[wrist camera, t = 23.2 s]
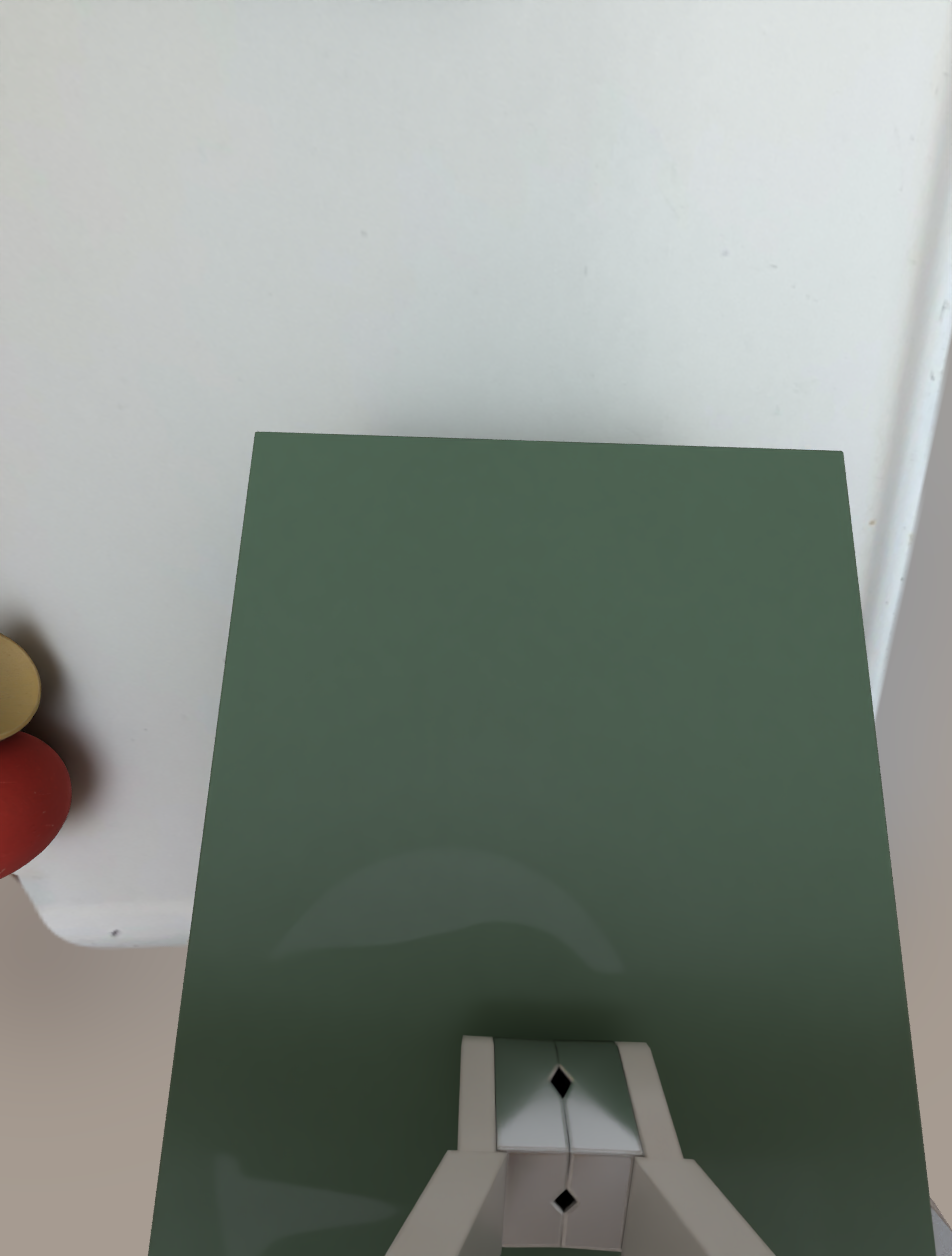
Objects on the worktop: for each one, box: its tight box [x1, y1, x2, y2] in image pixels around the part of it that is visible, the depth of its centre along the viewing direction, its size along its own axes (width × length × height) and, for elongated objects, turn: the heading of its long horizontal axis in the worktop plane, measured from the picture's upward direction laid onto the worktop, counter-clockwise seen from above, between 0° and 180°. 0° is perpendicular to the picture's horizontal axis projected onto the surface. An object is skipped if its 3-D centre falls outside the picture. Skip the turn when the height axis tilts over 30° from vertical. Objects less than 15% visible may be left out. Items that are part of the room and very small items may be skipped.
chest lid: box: [148, 432, 936, 1256], centre depth 11 cm, size 16×13×1 cm
